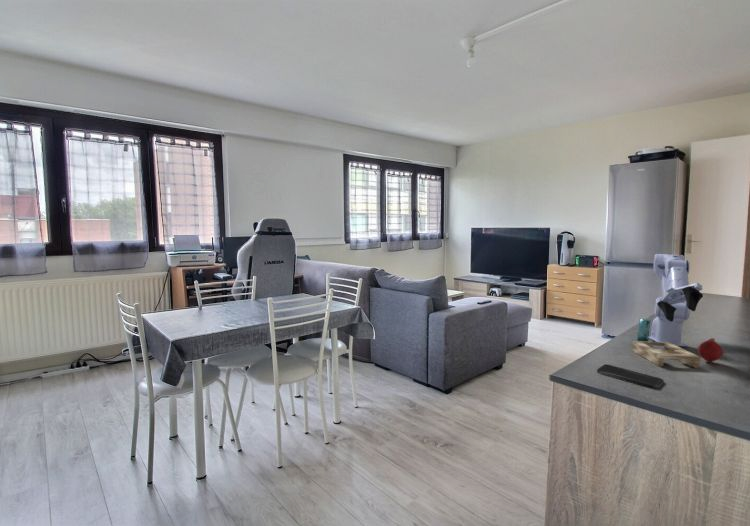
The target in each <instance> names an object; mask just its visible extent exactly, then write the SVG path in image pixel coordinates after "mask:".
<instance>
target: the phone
mask: <svg viewBox="0 0 750 526" xmlns="http://www.w3.org/2000/svg"><path fill="white" fill-rule="evenodd" d="M596 373H598V374H600V373H602V374H601V375H603V374H605V375H604V376H607V375H609V376H608V377H610V376H612V377H611V378H614V377H615V378H614V379H617V378H619V379H618V380H621V379H622V380H621V381H624V380H626V381H625V382H628V381H630V382H629V383H631V382H633V383H632V384H635V383H636V384H635V385H638V384H639V386H642V385H643V386H642V387H645V386H646V388H649V387H650V389H652V388H653V390H658V388H659V387H660V386H661V385H662V386H663V384H665V380H664V379H663V378H660V377H656V376H653V375H648V374H646V373H641V372H638V371H633V370H630V369H626V368H623V367H618V366H615V365H611V364H607V363H606V364H603V365H602V366H600V367H598V368H597V369H596ZM662 386H661V387H662ZM661 387H660V388H661ZM660 388H659V389H660Z"/></svg>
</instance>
